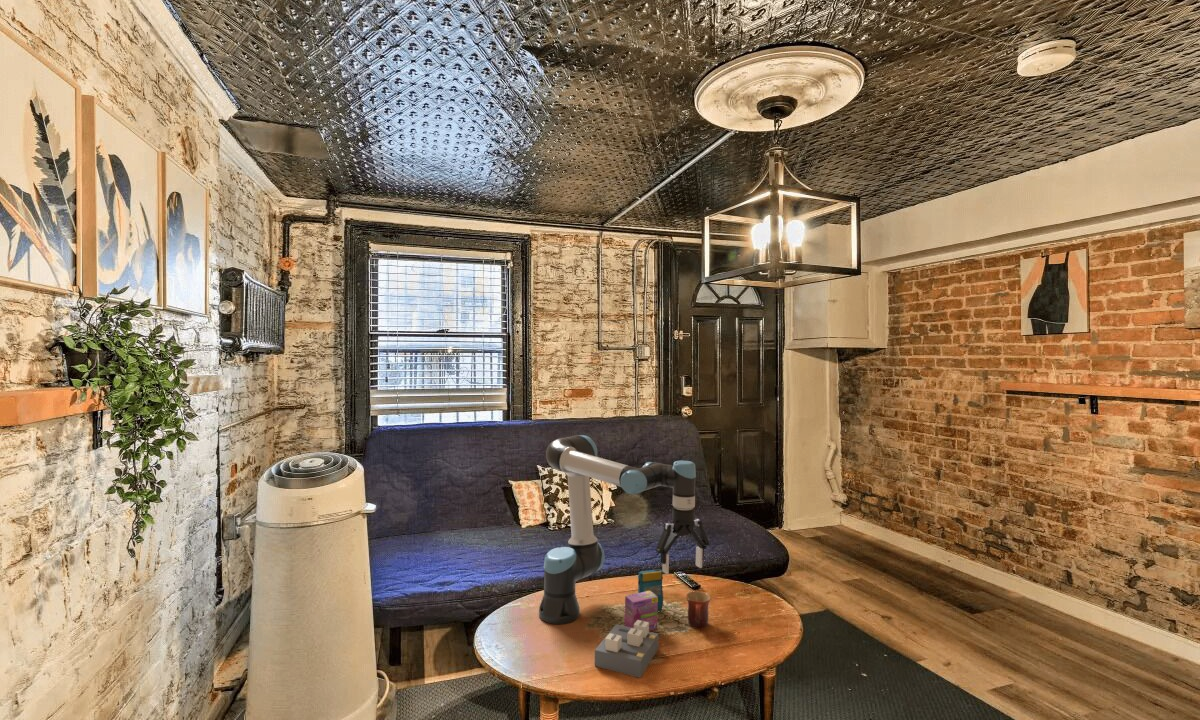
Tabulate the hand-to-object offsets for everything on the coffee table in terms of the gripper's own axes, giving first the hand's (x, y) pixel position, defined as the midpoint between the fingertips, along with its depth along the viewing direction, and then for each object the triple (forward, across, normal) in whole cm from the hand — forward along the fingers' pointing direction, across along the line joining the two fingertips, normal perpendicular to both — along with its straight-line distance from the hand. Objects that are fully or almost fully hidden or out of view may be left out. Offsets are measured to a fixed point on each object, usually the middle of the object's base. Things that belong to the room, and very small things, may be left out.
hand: (682, 569), depth 186 cm
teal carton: (+25, +2, +23) cm, 34 cm away
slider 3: (+19, -20, -3) cm, 28 cm away
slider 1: (+19, -28, -3) cm, 34 cm away
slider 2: (+19, -15, +1) cm, 25 cm away
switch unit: (+24, -21, -1) cm, 32 cm away
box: (+25, -8, +13) cm, 29 cm away
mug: (+25, +11, +6) cm, 28 cm away
